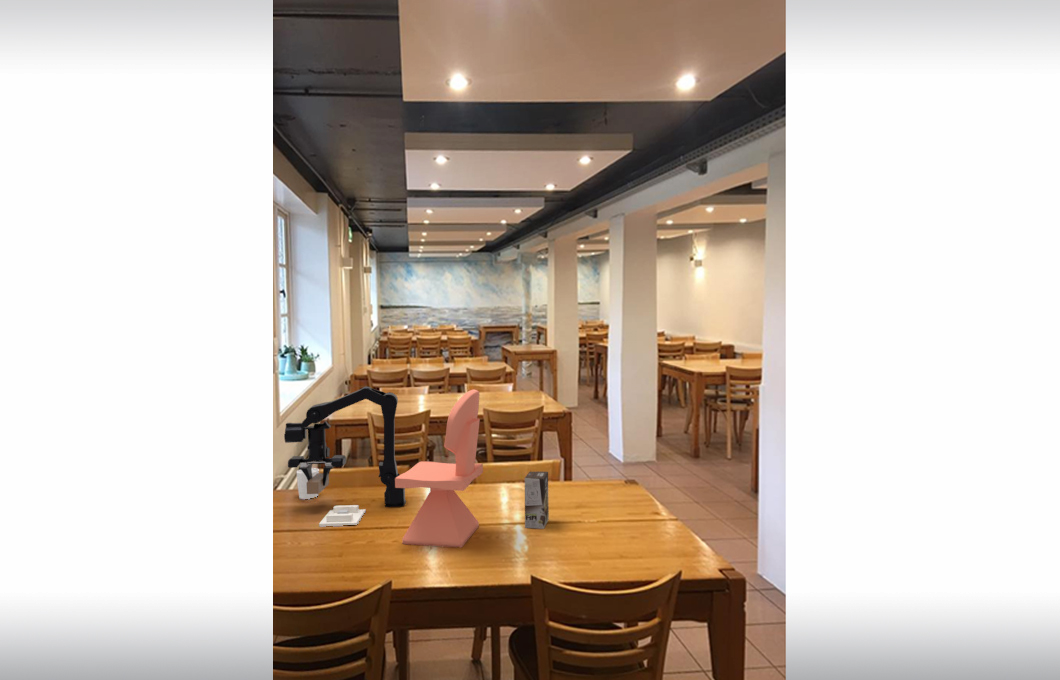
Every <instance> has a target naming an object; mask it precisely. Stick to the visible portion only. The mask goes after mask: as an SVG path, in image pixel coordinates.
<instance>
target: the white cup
mask: <svg viewBox="0 0 1060 680" xmlns="http://www.w3.org/2000/svg"><path fill="white" fill-rule="evenodd" d="M317 473H320V469H319V468H317V467H312V477H314V476H315V475H316V474H317ZM296 482H297V483H296V484H297V492H298V498H299V500H305V499H308V500H311V499H310V498H314V497H316V498H318V497H319V494H307V482H308V479H307V477H306V476H305V474H304V473H303V471H302V470H299V469H297V470H296ZM317 496H318V497H317ZM314 499H315V498H314Z"/></svg>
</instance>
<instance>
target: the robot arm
mask: <svg viewBox="0 0 1060 680" xmlns="http://www.w3.org/2000/svg"><path fill="white" fill-rule="evenodd" d="M364 400H368V401H370V402H371V403H374V404H376V405H379V406H380V410H381V414H382V417H383V461H379V464H378V470H379V473H378V478H380V481H381V483H382V484H383V485H385V486H386V487H385V491H384V492H383V493H384V497H383V498H384V499H383V500H384V504H385V505H384V507H385V508H393V507H394V508H395V507H398V508H399V507H405V504H406V502H407V499H406V488H395V478H396V477H398V476H399V475H401V474H399V471H398V466H397V461H396V457H395V456H396V454H395V452H396V451H395V447H396V446H395V439H396V438H395V418H396V413H397V412H396V411H397V407H398V402H399V399H398V396H397V395H396V394H395V393H394V392H385V391H381V390H378V389H376V388H375V389H374V388H372V387H370V386H367V385H366V386H363V387H361V388H360V389H358V390H355V391H353V392H351V393H348V394H346V395H344V396H341V397H339V398H336V399H334V400H332V401H326V402H321V403H317V404H313V405H312V406H310V407H309V408H308V410H307V411H306V413H305V419H303V420H302V422H287V423H286V424H285V430H284V433H283V434H284V435H283V437H284V442H285V444H287V443H291V444H293V443H304V440H306V439H307V444H308V445H307V451H308V457H307V458H305V457H304V455H298V456H297V455H296V456H295V455H294V456H292V457H291V458H290V459H288V461H287V468H289V469H291V468H293V469H295V468H298V467H299V468H298V470H302V471H303V473H304V474H305V476H306V477H307V479H308V481H309V480H310V479H311V478H312V468H313V465H321V464H322V465H325V466H324V467H322V468H323V469H322V470H323V471H322V472H323V485H324V486H325V485H326V482H327V478H328V475H329V476H330V472H331V470H332V469H333V468H335V467H344V466H345V465H346V463H347V457H346V455H344V454H342V455H341V454H336V455H333V457H330V447H329V446H327V442H326V429H327V430H329V429H330V428H331V427H332V425H331V424H330V423H328V421H327V420H325V419H326V418H328V417H329V416H331V415H333V414H334V413H335V412H338V411H340V410H342V409H345V408H347V407H350V406H353V405H355V404H357V403H360V402H361V401H364ZM323 420H324V422H323ZM320 422H323V423H320ZM312 424H313V425H312ZM311 425H312V426H311Z"/></svg>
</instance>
